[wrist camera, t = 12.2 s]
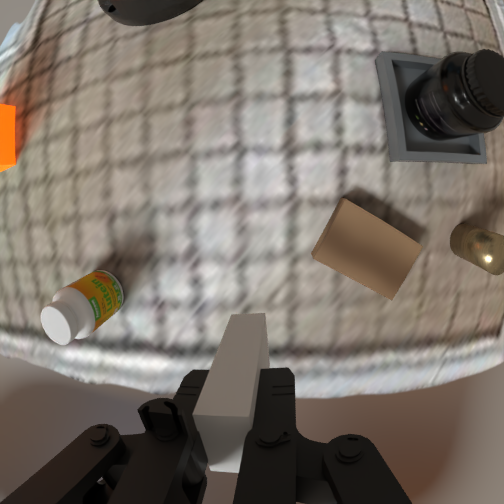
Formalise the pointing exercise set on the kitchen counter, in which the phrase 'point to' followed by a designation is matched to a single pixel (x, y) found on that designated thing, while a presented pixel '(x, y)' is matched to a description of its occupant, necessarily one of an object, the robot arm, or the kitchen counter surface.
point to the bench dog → (479, 247)
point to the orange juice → (7, 137)
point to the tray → (400, 127)
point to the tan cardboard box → (366, 249)
